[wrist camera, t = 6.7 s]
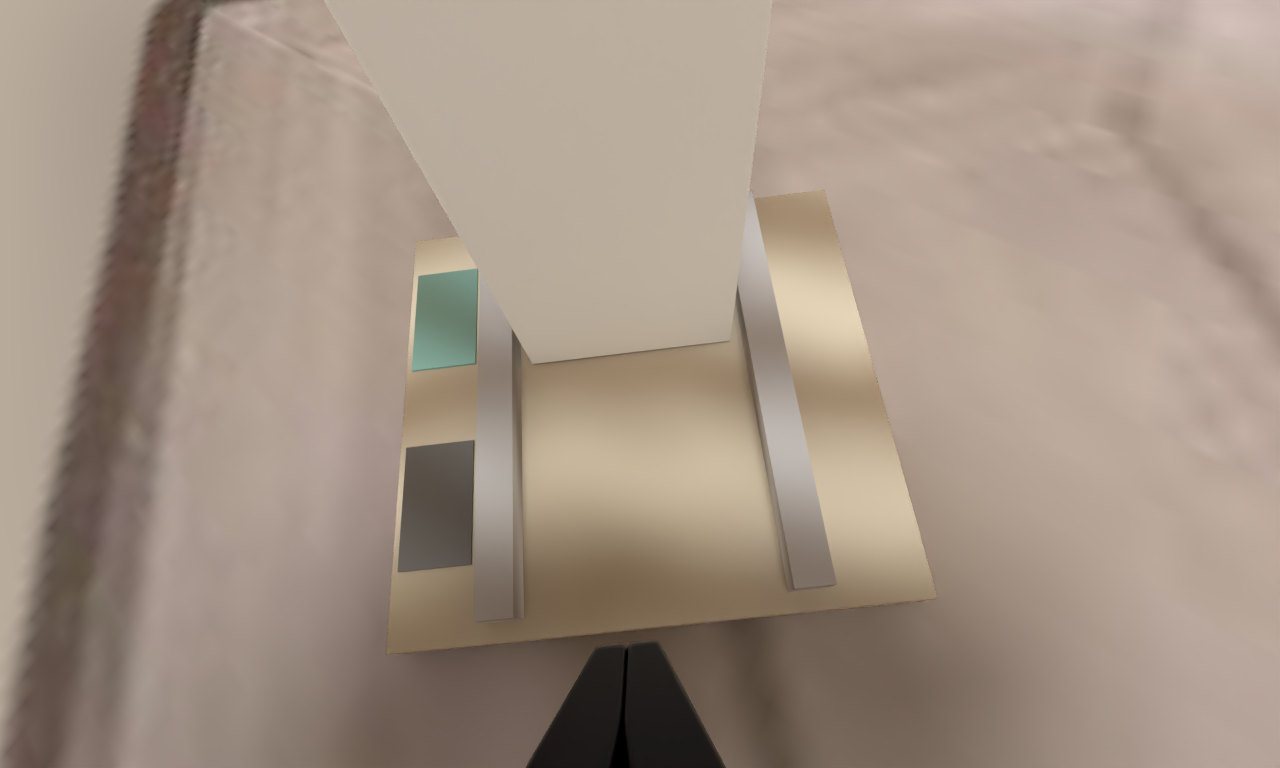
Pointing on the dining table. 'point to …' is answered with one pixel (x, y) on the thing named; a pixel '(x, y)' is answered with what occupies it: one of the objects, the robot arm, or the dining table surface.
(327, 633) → the dining table surface
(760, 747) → the dining table surface
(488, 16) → the white rectangular tower
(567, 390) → the switch base
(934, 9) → the dining table surface
